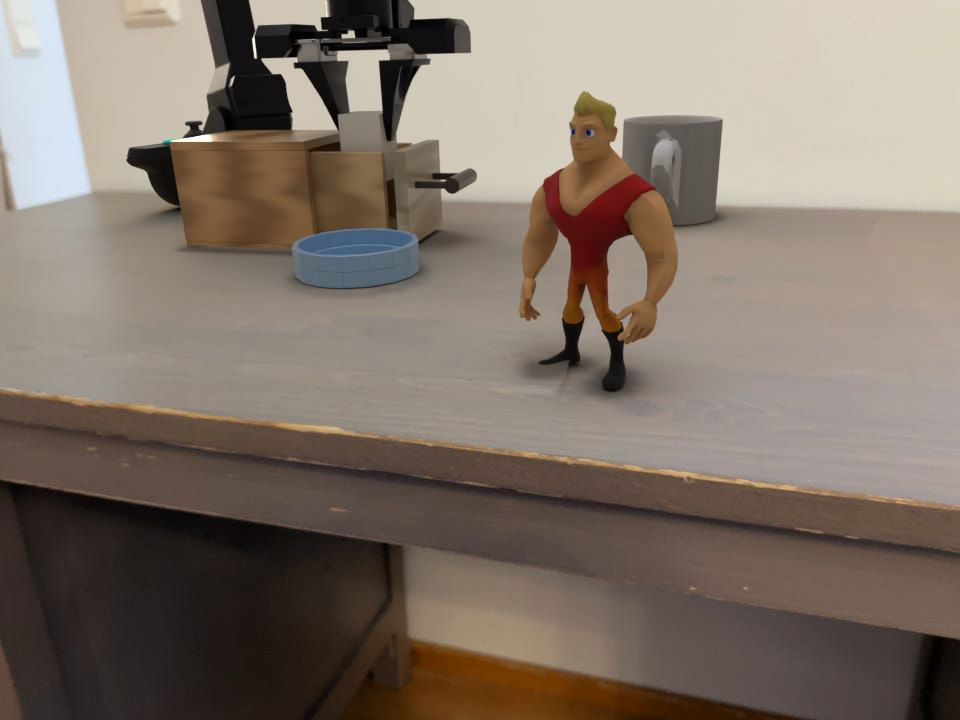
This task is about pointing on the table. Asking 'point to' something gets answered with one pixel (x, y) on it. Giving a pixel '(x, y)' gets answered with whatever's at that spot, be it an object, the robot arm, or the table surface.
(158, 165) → the controller
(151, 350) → the table surface
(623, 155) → the coffee mug
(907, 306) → the table surface
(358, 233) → the bowl
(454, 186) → the drawer
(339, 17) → the robot arm
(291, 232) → the cabinet
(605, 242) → the action figure
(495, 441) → the table surface
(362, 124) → the block
